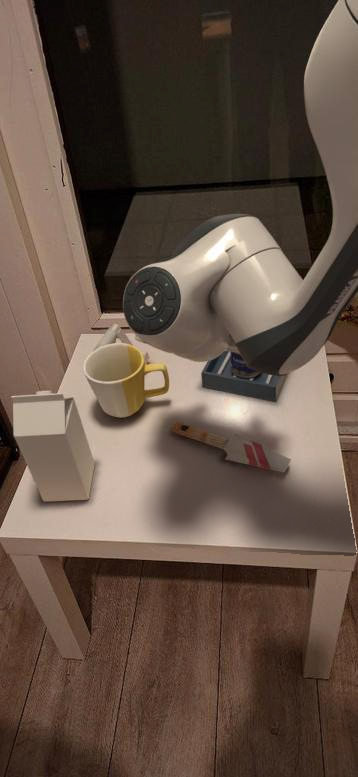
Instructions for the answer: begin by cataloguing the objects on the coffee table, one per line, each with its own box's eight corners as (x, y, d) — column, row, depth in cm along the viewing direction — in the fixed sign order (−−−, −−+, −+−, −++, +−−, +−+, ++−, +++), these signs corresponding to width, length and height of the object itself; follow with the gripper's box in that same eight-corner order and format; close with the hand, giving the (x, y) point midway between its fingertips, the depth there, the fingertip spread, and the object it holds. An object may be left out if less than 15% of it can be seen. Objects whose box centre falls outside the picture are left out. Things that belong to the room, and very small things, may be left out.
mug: (88, 426, 94) (74, 381, 87) (104, 386, 101) (92, 341, 94) (165, 430, 91) (157, 384, 84) (175, 389, 99) (169, 343, 92)
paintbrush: (282, 468, 79) (168, 428, 89) (282, 480, 81) (171, 440, 90) (292, 450, 81) (180, 413, 91) (292, 462, 83) (183, 424, 93)
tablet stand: (134, 390, 99) (124, 354, 94) (95, 385, 102) (84, 350, 96) (150, 361, 105) (142, 325, 100) (113, 357, 108) (104, 322, 102)
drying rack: (290, 364, 101) (291, 349, 98) (275, 402, 94) (276, 387, 91) (221, 351, 105) (220, 337, 103) (202, 387, 99) (201, 372, 96)
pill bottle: (231, 380, 97) (229, 335, 90) (230, 359, 101) (228, 315, 94) (263, 378, 96) (264, 333, 89) (261, 358, 100) (261, 313, 94)
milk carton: (89, 500, 82) (57, 412, 70) (43, 502, 83) (3, 415, 70) (95, 463, 88) (67, 375, 75) (52, 466, 88) (17, 379, 75)
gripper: (282, 314, 66) (298, 331, 79) (133, 292, 73) (170, 312, 86) (272, 364, 66) (289, 374, 79) (124, 338, 73) (162, 351, 86)
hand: (226, 341), depth 83 cm, fingers open, 8 cm apart
